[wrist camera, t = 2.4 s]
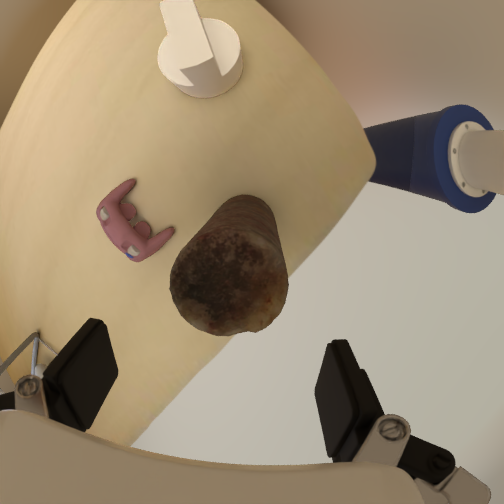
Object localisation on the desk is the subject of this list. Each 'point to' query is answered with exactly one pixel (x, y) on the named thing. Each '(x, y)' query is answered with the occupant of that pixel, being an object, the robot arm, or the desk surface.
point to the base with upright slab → (198, 51)
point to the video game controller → (128, 226)
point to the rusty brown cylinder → (232, 271)
